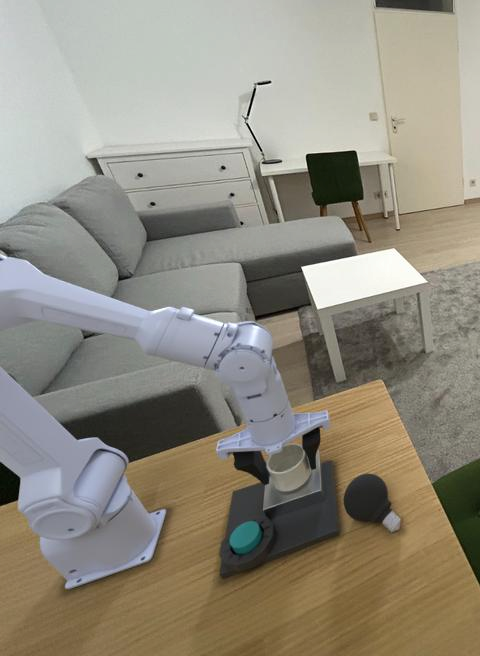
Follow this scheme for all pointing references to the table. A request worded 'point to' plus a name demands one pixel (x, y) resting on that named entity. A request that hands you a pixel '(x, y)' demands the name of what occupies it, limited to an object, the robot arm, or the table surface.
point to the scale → (278, 526)
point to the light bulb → (370, 501)
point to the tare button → (246, 537)
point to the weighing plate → (295, 494)
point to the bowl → (289, 467)
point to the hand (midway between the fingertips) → (290, 471)
